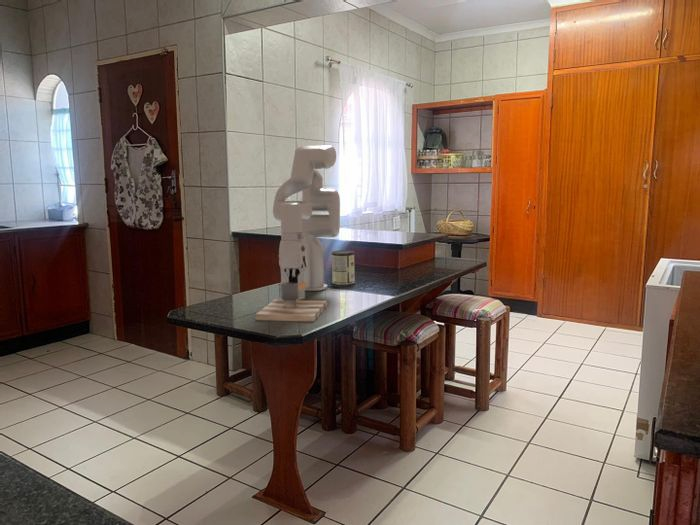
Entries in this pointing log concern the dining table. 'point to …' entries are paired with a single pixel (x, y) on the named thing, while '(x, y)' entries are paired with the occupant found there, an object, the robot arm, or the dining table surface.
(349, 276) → the coffee can
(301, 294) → the skincare box
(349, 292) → the dining table surface
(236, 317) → the dining table surface
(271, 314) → the base
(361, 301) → the dining table surface
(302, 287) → the grey orange long piece
